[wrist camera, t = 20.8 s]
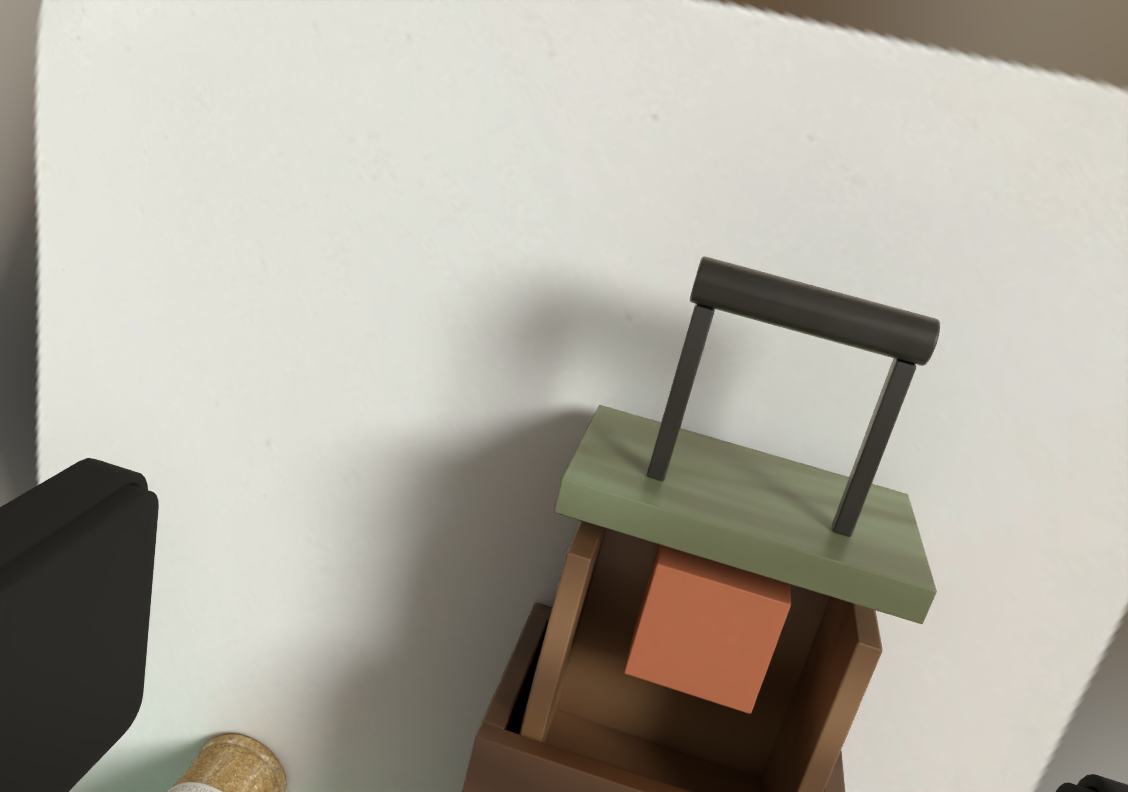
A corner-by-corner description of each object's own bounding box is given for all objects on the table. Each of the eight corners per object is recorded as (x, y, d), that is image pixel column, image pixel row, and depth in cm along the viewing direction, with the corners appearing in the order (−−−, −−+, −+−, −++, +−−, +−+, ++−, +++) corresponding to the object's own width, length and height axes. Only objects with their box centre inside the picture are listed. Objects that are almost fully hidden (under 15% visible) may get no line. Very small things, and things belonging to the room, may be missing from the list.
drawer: (649, 212, 33) (619, 249, 27) (985, 302, 32) (1035, 363, 26) (523, 696, 41) (477, 813, 35) (791, 784, 40) (794, 922, 33)
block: (670, 505, 35) (656, 563, 31) (789, 541, 35) (791, 605, 31) (640, 606, 37) (623, 674, 33) (753, 641, 37) (750, 715, 33)
